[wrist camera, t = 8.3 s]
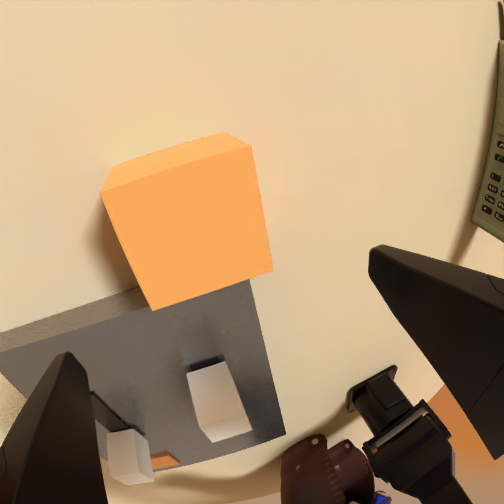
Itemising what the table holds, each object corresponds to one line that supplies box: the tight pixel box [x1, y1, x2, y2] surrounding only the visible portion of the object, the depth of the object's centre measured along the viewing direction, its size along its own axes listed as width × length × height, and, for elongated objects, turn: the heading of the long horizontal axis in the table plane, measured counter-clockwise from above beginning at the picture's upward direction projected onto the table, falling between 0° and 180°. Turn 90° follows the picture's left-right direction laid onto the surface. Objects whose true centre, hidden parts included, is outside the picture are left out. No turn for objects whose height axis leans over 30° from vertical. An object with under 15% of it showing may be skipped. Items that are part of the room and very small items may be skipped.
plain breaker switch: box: [186, 361, 252, 443], centre depth 17 cm, size 3×3×4 cm
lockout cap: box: [100, 132, 273, 311], centre depth 13 cm, size 6×6×4 cm
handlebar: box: [281, 434, 392, 504], centre depth 30 cm, size 45×13×20 cm, turn 40°
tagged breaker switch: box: [106, 429, 155, 485], centre depth 18 cm, size 3×3×4 cm
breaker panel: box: [0, 279, 286, 472], centre depth 21 cm, size 22×18×2 cm
